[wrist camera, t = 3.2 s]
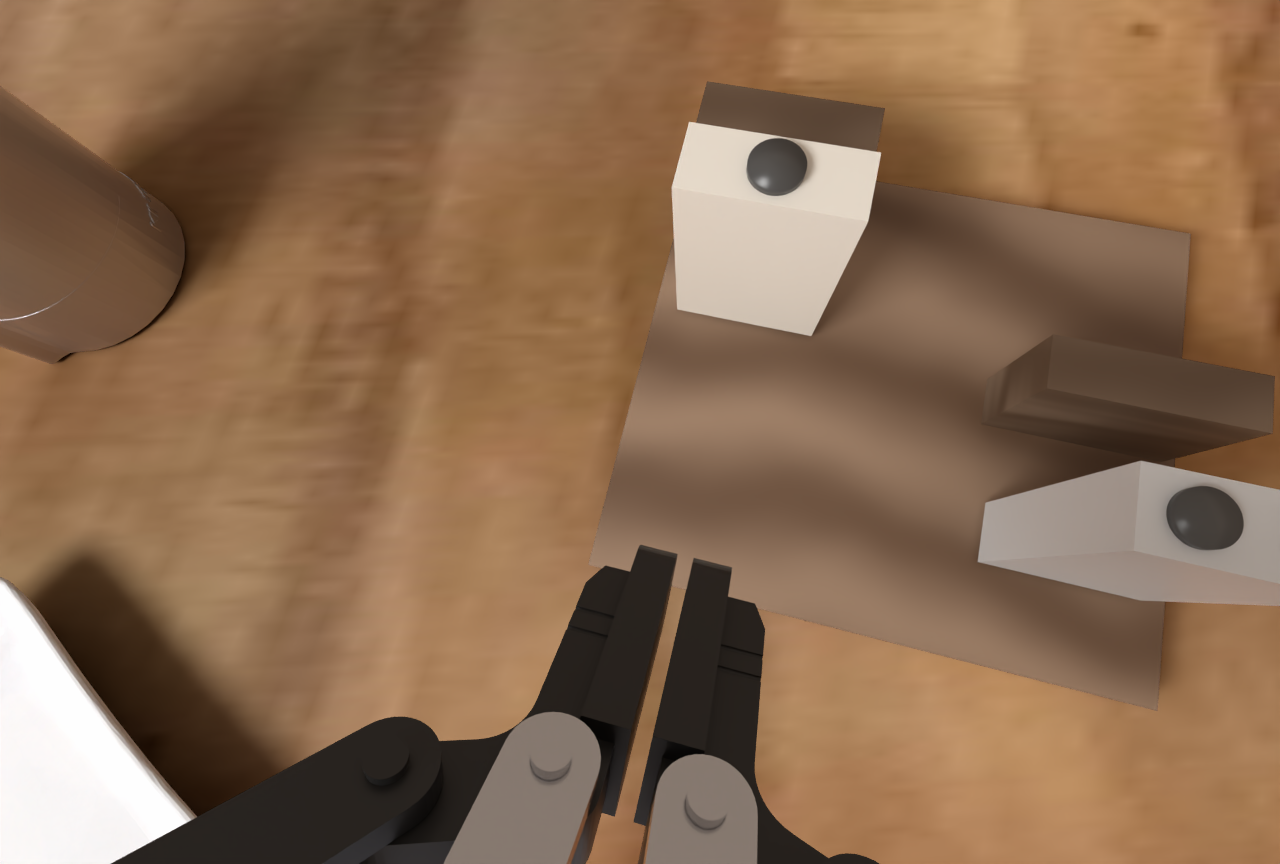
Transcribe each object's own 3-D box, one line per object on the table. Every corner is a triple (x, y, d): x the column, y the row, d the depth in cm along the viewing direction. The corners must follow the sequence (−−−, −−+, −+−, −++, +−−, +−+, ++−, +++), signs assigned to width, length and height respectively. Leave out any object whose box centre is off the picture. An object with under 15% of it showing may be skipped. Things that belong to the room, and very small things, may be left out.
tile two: (1140, 600, 24) (1410, 611, 15) (977, 561, 25) (1141, 550, 16) (1145, 538, 25) (1409, 513, 16) (985, 502, 25) (1148, 458, 16)
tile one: (811, 336, 28) (871, 215, 19) (677, 309, 28) (671, 181, 19) (821, 286, 28) (884, 145, 19) (689, 261, 29) (689, 115, 20)
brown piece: (1130, 703, 25) (1280, 744, 19) (593, 565, 28) (565, 560, 21) (1165, 251, 29) (1297, 159, 23) (696, 171, 32) (697, 69, 25)
